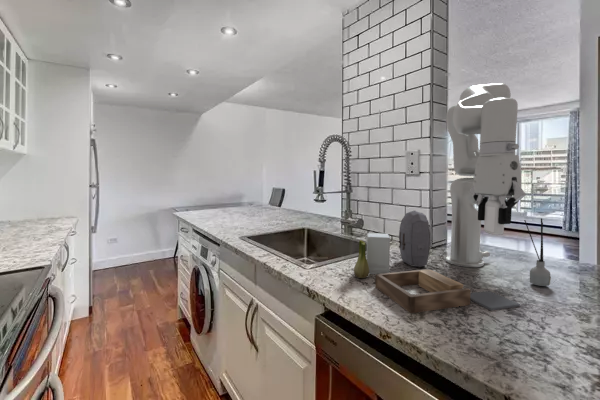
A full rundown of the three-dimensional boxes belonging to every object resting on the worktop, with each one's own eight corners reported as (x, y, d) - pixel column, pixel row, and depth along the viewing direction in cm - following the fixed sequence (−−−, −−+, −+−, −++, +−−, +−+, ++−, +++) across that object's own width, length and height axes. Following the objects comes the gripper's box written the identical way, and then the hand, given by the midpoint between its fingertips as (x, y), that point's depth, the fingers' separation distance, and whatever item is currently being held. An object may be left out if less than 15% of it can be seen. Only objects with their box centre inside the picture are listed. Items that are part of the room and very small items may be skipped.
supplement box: (389, 275, 99) (390, 237, 98) (366, 274, 101) (367, 236, 99) (387, 268, 106) (388, 233, 105) (366, 267, 108) (366, 232, 107)
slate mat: (489, 292, 84) (489, 290, 84) (520, 306, 75) (520, 304, 75) (462, 296, 82) (462, 294, 82) (490, 310, 73) (491, 308, 73)
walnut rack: (425, 281, 93) (426, 269, 92) (470, 305, 76) (470, 289, 76) (375, 287, 88) (375, 274, 88) (410, 313, 72) (410, 297, 72)
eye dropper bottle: (482, 233, 76) (484, 186, 75) (484, 230, 80) (486, 185, 79) (503, 235, 73) (505, 186, 72) (504, 232, 78) (506, 185, 77)
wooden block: (430, 284, 91) (430, 269, 90) (463, 301, 78) (464, 284, 78) (417, 285, 90) (417, 270, 89) (449, 303, 77) (449, 286, 77)
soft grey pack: (432, 270, 104) (433, 212, 102) (408, 270, 103) (409, 213, 102) (413, 258, 119) (414, 208, 117) (392, 258, 119) (393, 208, 117)
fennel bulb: (366, 281, 94) (366, 243, 93) (351, 278, 96) (351, 241, 95) (371, 275, 99) (371, 239, 98) (356, 273, 101) (357, 238, 100)
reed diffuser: (550, 292, 84) (555, 221, 82) (520, 287, 88) (523, 219, 86) (549, 282, 92) (553, 217, 90) (521, 277, 96) (524, 215, 94)
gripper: (543, 147, 68) (538, 226, 69) (480, 152, 84) (478, 216, 86) (517, 147, 66) (513, 228, 68) (458, 152, 83) (456, 217, 84)
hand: (493, 221), depth 77 cm, fingers closed on eye dropper bottle, 5 cm apart
